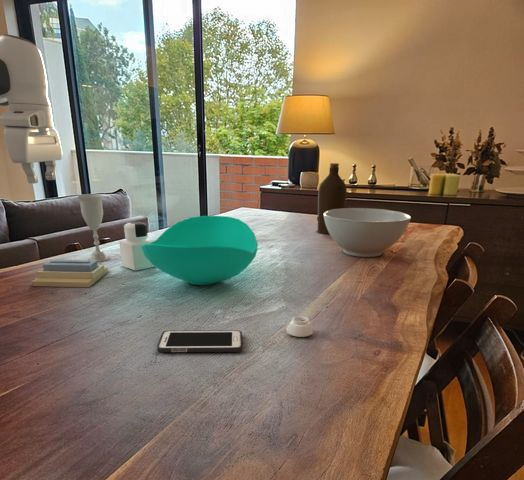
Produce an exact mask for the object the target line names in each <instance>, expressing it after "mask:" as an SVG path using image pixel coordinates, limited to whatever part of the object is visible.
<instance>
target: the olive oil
mask: <svg viewBox="0 0 524 480" xmlns="http://www.w3.org/2000/svg"><path fill="white" fill-rule="evenodd" d="M339 165H340V164H339V163H338V162H330V164H329V173H328V175H327V176H326V177H325V178H324V179H323V180H322V181H321V183H320V184H319V187H318V193H317V217H316V220H317V233H319V234H323V235H324V234H325V235H330V234H329V232H328V229H327V227H326V224H325V220H324V212H325V211H328V210H332V209H342V208H345V207H346V199H347V191H348V190H347V185H346V183H345V181H344V180H343V178H341V176H340V174H339V170H340V167H339Z"/></svg>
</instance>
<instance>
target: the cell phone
mask: <svg viewBox="0 0 524 480" xmlns="http://www.w3.org/2000/svg"><path fill="white" fill-rule="evenodd" d="M156 350H157V352H159V353H237V352H241V351H242V350H243V332H242V331H241V330H238V329H235V330H234V329H230V330H229V329H226V330H224V329H219V330H218V329H217V330H216V329H214V330H213V329H211V330H209V329H207V330H205V329H203V330H199V329H198V330H196V329H195V330H163V331H162V333H161V335H160V338H159V340H158V343H157V346H156Z"/></svg>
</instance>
